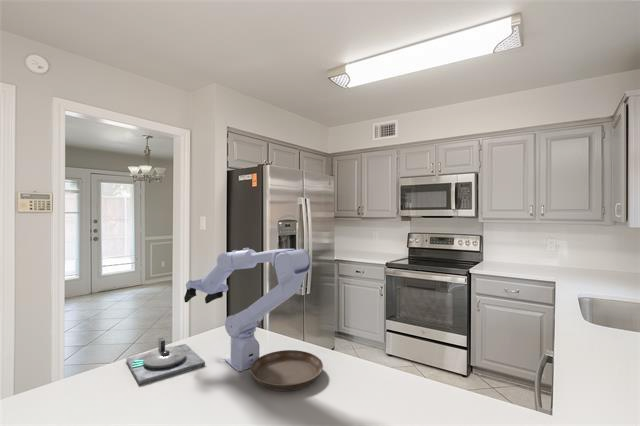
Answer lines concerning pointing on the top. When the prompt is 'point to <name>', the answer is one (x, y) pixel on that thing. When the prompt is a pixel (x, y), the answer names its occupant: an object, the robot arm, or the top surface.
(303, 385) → the plant saucer
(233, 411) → the top surface
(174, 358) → the dial
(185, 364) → the panel
